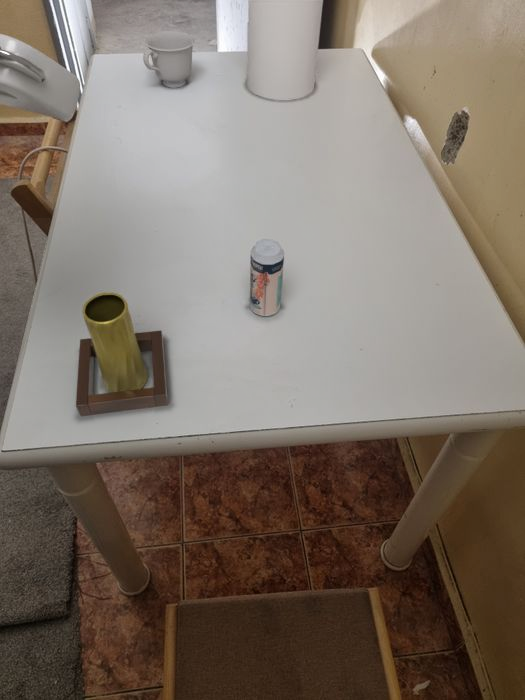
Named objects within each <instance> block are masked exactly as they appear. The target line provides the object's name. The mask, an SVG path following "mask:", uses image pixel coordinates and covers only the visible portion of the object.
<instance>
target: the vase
mask: <svg viewBox="0 0 525 700" xmlns="http://www.w3.org/2000/svg"><path fill="white" fill-rule="evenodd" d="M82 315H83V319H84V323H85V326H86V328H87V331H88V334H89V336H90V338H91V339H92V342H93V345H94V348H95V351H96V355H97V357H96V358H97V363H98V366H99V370H100V373H101V378H102V380H103V381H102V382H103V386H104V387H105V389H106V390H107V391H108V393H112V392H120V391H128V390H136V389H143V387H144V386H145V385H146V383H147V382H148V377H149V375H148V374H149V373H148V369H147V367H146V366H145V362H144V359H143V356H142V353H141V352H142V351H141V352H140V349H139V346H138V343H137V339H136V336H135V333H136V332H135V330H134V325H133V320H132V316H131V313H130V311H129V305H128V302H127V300H126V298H124V297H123V295H121V294H118V293H117V292H100V293H98V294H95V295H94V296H92V297H90V298H89V299H88V300H87V301H85V302H84V304H83V307H82Z"/></svg>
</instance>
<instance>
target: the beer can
mask: <svg viewBox="0 0 525 700" xmlns="http://www.w3.org/2000/svg"><path fill="white" fill-rule="evenodd" d="M284 262H285V251H284V249H283V247H282V246H281V244H280V243H279V241H276V240H274V239H271V238H263V239H261V240H258V241H256V242H255V244H254V246H253V247H252V248H251V250H250V268H249V269H250V270H249V271H250V274H249V275H250V277H249V279H250V280H249V285H250V286H249V306H250V309H251V311H252V312H253V313H255V314H256V315H258V316H261V317H270V316H274V315H275V314H277V313H278V312H279V310H280V309H281V302H282V291H283V290H282V288H283V277H284V276H283V275H284V264H285V263H284Z"/></svg>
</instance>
